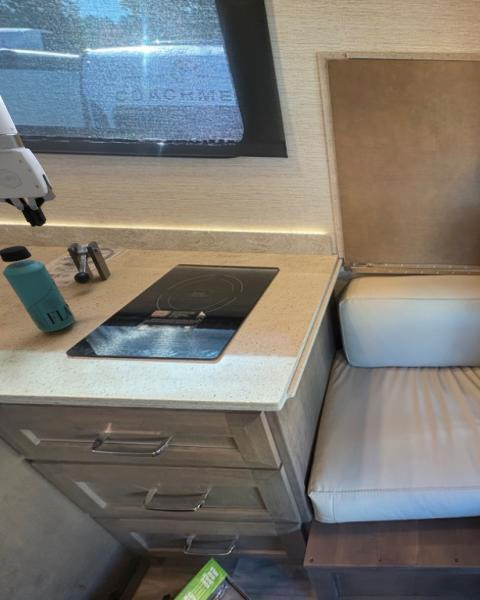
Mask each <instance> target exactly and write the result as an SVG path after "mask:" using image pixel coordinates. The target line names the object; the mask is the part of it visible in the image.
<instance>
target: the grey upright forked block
mask: <svg viewBox="0 0 480 600" xmlns="http://www.w3.org/2000/svg"><path fill="white" fill-rule="evenodd" d="M78 245H79V243H78V242H72V244H71V245H69V247H67V249H66V250H67V252H68V254H69V256H70V258H71V259H72V261H73V264H74V265H75V268H76V270H77V272H78V273H79V272H80V260H81V257H80V256H79V255H78V254H77V247H78ZM86 248H87V250H88V252H89V254H90V256H91V257H90V258H91V260H92V262H93V265H94V266H95V268H96V271H97V274H98V275H99V277H100V279H101V281H103V282H105V281H108V279H109V277H110V276H111V271H110V268H109V267H108V265H107V262H106V260H105V258H104V255H103V254H102V252H101V249H100V247H99V245H98V243H97V241H96V240H92V241H90V243H89V244H88V246H87V247H86ZM87 273H88V274H89V275H90V277H91V280H92V279H93V277H94V274H93V271H92V269H91V268H90V266H89V263H88V262H87Z"/></svg>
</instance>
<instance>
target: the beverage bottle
mask: <svg viewBox="0 0 480 600" xmlns="http://www.w3.org/2000/svg"><path fill="white" fill-rule="evenodd" d="M31 257H32V253H31V252H30V250H28V247H27V246H24V245H15V246H8V247H5V248H2V249H0V258H1V261H2V262H3V263H4V262H5V263H9V264H8V265H7V266H6V267H5V268H4V270H3V271H2V275H3V276H4V278H5V279H6V281H7V282H8V283H9V285H10V286H11V288H12V290H13V291H14V293H15V294H16V296H17V297H18V299H19V300H20V302H21V304H22V306H23V307H24V310H25V311H26V312H27V314H28V315H29V317H30V319H31V320H32V322H33V324H34V325H35V327H37V329H38V330H40V331H41V332H54V331H55V332H56V331H58V330H62V329H64V328H67V327H68V326H71V324H73V323H74V322H75V316H74V313H73V312H72V309H71V307H70V306H69V304H68V303H67V301H65V300H66V298H65V297H64V296H63V294H62V293H61V291H60V289H59V287H58V285H57V283H56V281H55V279H54V278H53V277H52V276H51V273H50V272H49V270H48V269H47V267H46V265H45V263H43V262H40V261H37V260H34V259H29V258H31Z"/></svg>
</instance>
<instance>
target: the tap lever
mask: <svg viewBox="0 0 480 600" xmlns="http://www.w3.org/2000/svg"><path fill="white" fill-rule="evenodd" d="M88 245H89V244H88V243H85V244H78V247H77V254H78V255H79V256H80V257H81V260H80V272H79V271H78V272H77V273H75V275H73V280H74V282H75V283H77V284H79V285H87V284H88V283H90V282H91V281H92V279H91V277H90V275H89V274H88V273H87V263H88V259H89V258H91V256H90V254H89V252H88V250H87V248H86V247H87V246H88Z"/></svg>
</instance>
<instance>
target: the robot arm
mask: <svg viewBox="0 0 480 600" xmlns="http://www.w3.org/2000/svg"><path fill="white" fill-rule="evenodd" d="M7 108H8V107H7V106H6V104H5V102H4V100H3V98H2V96H1V94H0V203H4V204H5V203H6V204H8V205H11V206H12V207H15V208H16V209H17V210H18V211H20V212H21V213H22V215H23V217H24V219H25V221H26V222H27V223H28V224H29V225H30V226H31V228H35V227H43V226H44V225H46V223H47V217H46V215H45V214H44V212H43V209H42V207H43V205H44V203H46V202H49V201H53V200H55V199H57V196H56V194H55V193H54V192H53V186H52V184H51V181H50V179H49V177H48V176H47V174H46V171H45V170H44V169H43V167H42V165H41V164H40V162H39V160H38V159H37V158H36V156H35V155H34V153H33V152H32V150H30V149H29V148H26V147H25V144H24V143H23V141H22V138H21V136H20V134H19V132H18V129H17V128H16V125H15V123H14V121H13V119H12V117H11V114H10V113H9V110H8V109H7ZM26 198H27V200H26Z"/></svg>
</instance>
